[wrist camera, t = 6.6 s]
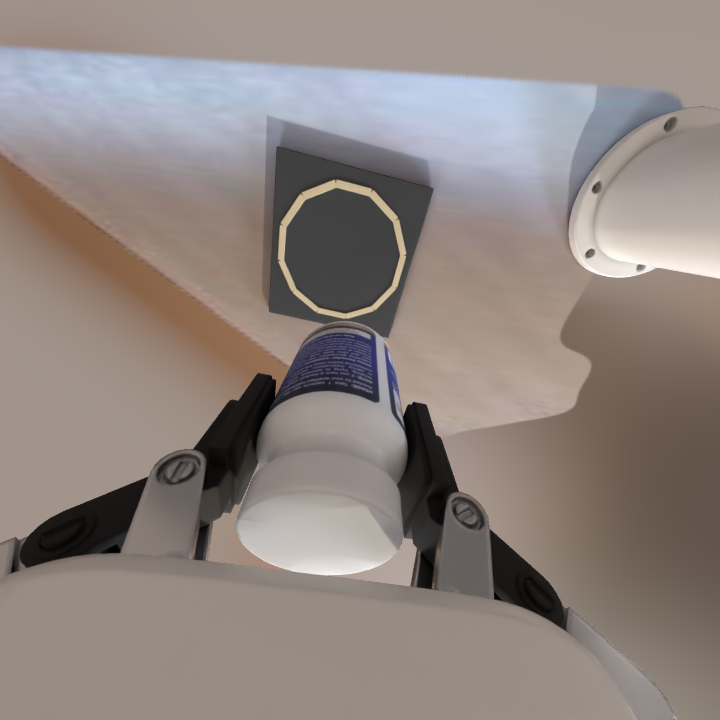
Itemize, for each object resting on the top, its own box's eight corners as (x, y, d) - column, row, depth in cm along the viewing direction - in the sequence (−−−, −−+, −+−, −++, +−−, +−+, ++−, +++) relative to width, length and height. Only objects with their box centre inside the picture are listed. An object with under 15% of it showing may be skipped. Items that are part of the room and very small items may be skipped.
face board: (432, 189, 23) (434, 188, 23) (388, 335, 31) (388, 338, 30) (278, 147, 22) (276, 145, 22) (270, 310, 29) (268, 312, 29)
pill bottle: (282, 367, 16) (180, 544, 7) (336, 297, 14) (281, 434, 5) (354, 412, 18) (340, 602, 9) (412, 357, 15) (470, 538, 7)
